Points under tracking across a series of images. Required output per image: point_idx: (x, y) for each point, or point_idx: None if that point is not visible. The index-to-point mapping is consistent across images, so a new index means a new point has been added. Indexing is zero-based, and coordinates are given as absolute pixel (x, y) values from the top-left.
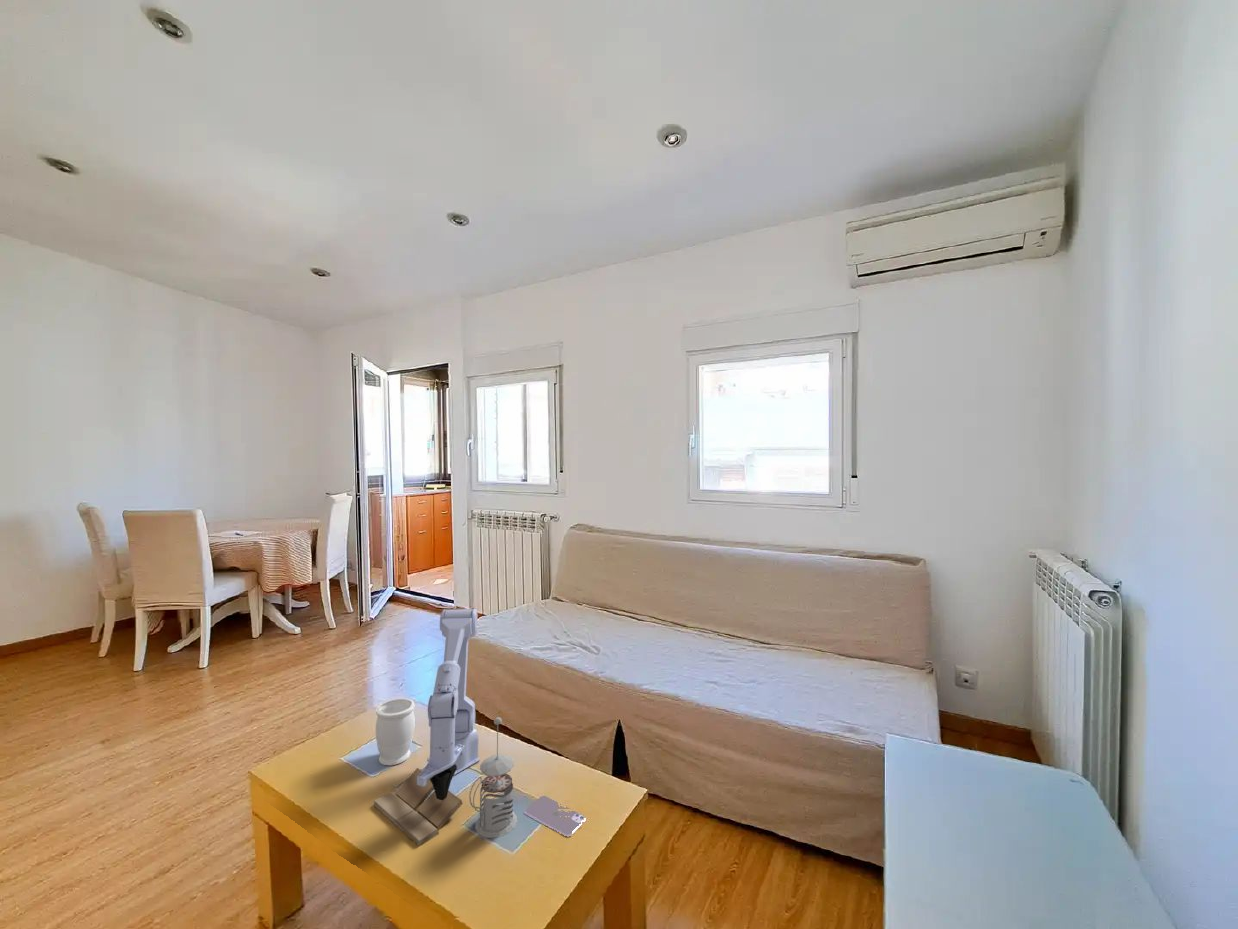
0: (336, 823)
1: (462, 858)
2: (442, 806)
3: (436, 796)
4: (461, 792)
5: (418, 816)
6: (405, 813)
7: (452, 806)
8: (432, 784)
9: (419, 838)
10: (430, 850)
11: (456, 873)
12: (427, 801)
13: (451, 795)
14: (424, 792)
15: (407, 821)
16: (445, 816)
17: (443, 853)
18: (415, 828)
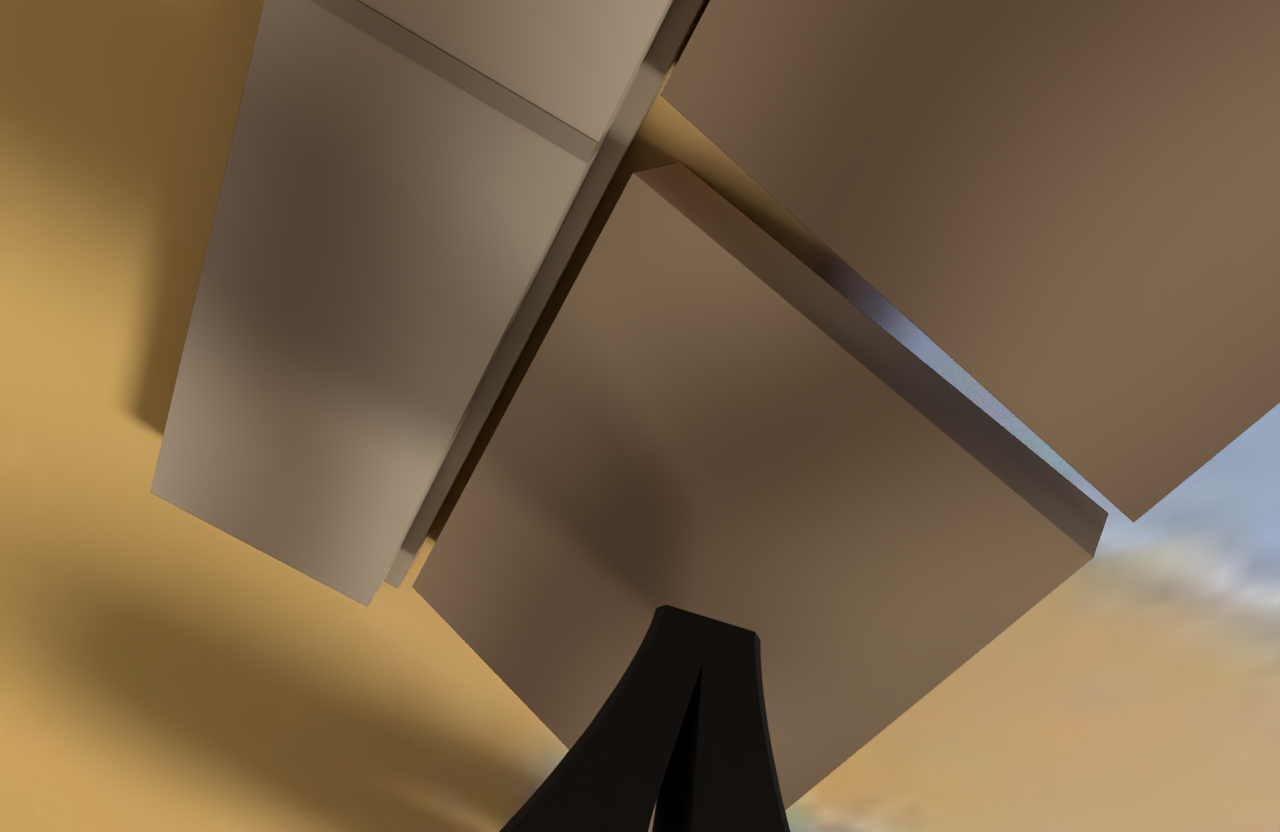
0: None
1: (261, 791)
2: (637, 633)
3: (648, 635)
4: (1234, 617)
5: (480, 299)
6: (472, 26)
7: None
8: (515, 816)
9: (168, 481)
10: (205, 565)
11: (139, 779)
12: (752, 356)
13: (789, 766)
14: (927, 250)
15: (328, 180)
16: (505, 682)
17: (233, 669)
18: (267, 368)
